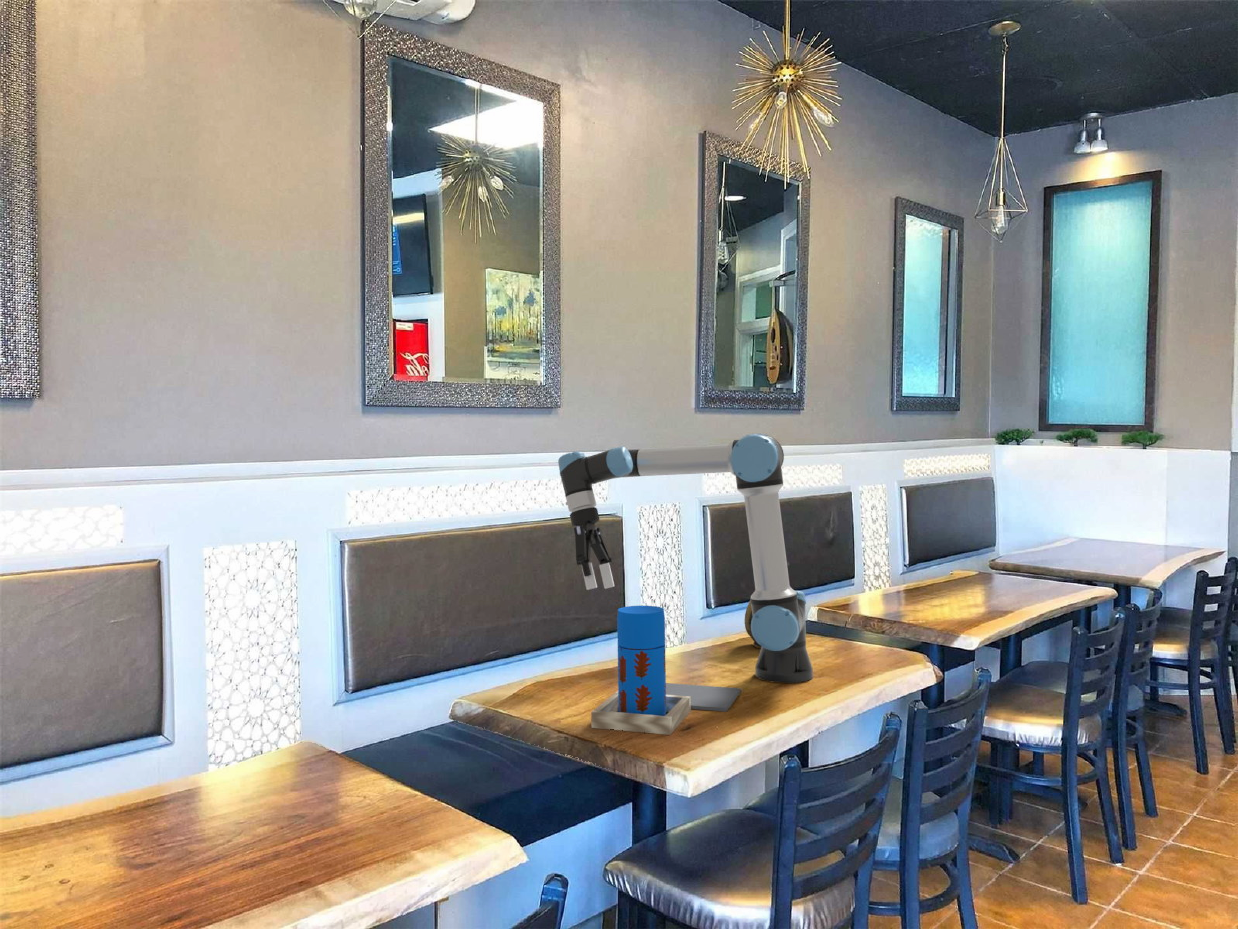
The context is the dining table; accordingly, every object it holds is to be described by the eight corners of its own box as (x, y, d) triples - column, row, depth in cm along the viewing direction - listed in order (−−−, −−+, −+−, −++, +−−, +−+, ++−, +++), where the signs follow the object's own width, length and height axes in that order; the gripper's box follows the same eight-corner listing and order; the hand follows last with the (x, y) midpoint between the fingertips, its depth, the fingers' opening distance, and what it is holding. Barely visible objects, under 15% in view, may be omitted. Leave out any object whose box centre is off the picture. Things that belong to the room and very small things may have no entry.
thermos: (666, 726, 202) (665, 613, 202) (618, 727, 203) (616, 614, 202) (665, 712, 213) (663, 605, 213) (619, 712, 214) (617, 605, 213)
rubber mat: (741, 691, 230) (741, 688, 230) (726, 711, 213) (726, 708, 213) (664, 686, 236) (664, 683, 236) (644, 705, 219) (644, 701, 219)
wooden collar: (690, 711, 214) (690, 696, 214) (670, 734, 197) (670, 718, 197) (617, 705, 219) (617, 691, 219) (591, 727, 202) (591, 712, 202)
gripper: (586, 516, 257) (603, 590, 253) (552, 511, 234) (570, 592, 230) (611, 509, 255) (629, 583, 251) (578, 503, 231) (597, 585, 227)
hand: (601, 588), depth 240 cm, fingers open, 13 cm apart
